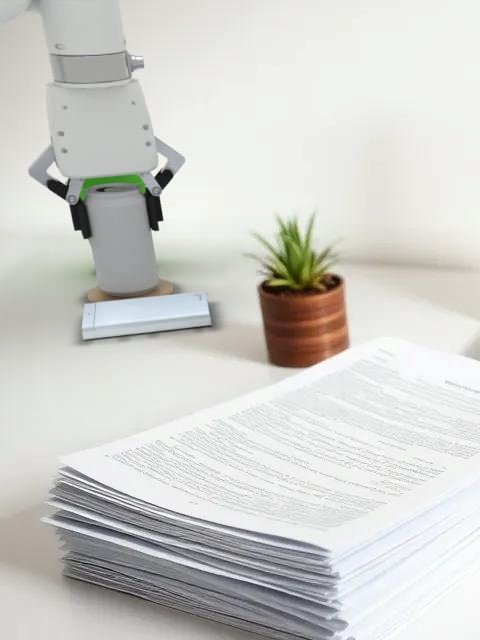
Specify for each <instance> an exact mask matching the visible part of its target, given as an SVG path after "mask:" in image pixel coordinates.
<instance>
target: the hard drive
mask: <svg viewBox="0 0 480 640" xmlns="http://www.w3.org/2000/svg"><path fill="white" fill-rule="evenodd" d="M83 306H84V307H83V312H82V320H81V335H82V340H84V341H85V340H92V339H93V340H94V339H100V338H101V339H102V338H109V337H119V336H127V335H136V334H138V335H139V334H143V333H144V334H146V333H154V332H162V331H163V332H164V331H171V330H180V329H189V328H199V327H208V326H212V319H211V312H210V306H209V300H208V293H207V291H206V290H204V291H194V292H185V293H175V294H174V293H173V294H170V295H163V296H154V297H144V298H134V299H125V300H115V301H105V302H96V303H92V302H90V303H89V302H88V303H84V305H83Z"/></svg>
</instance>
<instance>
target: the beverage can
mask: <svg viewBox="0 0 480 640" xmlns="http://www.w3.org/2000/svg"><path fill="white" fill-rule="evenodd" d="M140 190H141V187H140V186H139V185H137V184H133V183H108V184H100V185H95V186H92V187H89V188H87V189H86V190H85V194H86V197H85V199H84V201H83V202H84V205H85V209H86V214H87V220H88V225H89V230H90V235H91V237H90V242H91V245H90V248H91V253H92V259H93V263H94V269H95V274H96V281H97V286H99V288H100V289H101V290H102V291H104V292H106V293H107V294H108V295H111V296H117V297H129V296H137V295H142V294H146V293H149V292H151V291H152V290H153V289H154V287H155V286H156V285H157V284H158V283H159V279H160V276H159V270H158V269H159V268H158V264H157V258H156V251H155V245H154V240H153V233H152V232H153V231H152V229H151V226H150V220H149V213H148V207H147V201H146V197H145V195H144V194H143V193H142V192H141V191H140Z"/></svg>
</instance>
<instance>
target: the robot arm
mask: <svg viewBox="0 0 480 640" xmlns="http://www.w3.org/2000/svg"><path fill="white" fill-rule="evenodd" d="M38 14H39V15H40V17H41V21H42V22H41V23H42V26H43V32H44V38H45V44H46V48H47V54H48V59H49V64H50V68H51V69H50V70H51V74H52V79H53V81H51V82H47V83H46V87H45V88H46V89H45V99H46V100H45V101H46V113H47V121H48V122H47V123H48V129H49V137H50V144H49V145H48V146H47V147H46V148H45V149H44V150H43V151H42V152H41V153H40V154H39V156H38V157H37V158H36V159H35V160H34V161H33V162H32V163H31V164H30V166H28V167H27V172H28V173H27V174H28V175H29V176H30V177H31V178H32V179H33V180H35V181H37V182H38V183H39V184H40V185H42V186H44V187H45V188H47V189H48V190H49V191H50V192H52V193H53V194H55V195H56V196H57V197H59V198H61V199H62V200H64V201H65V202H66V203H67V204H68V206H69V211H70V216H71V222H72V226H73V230H74V231H75V232H77V231H79V232H81V235H82V238H83V240H88V239H89V238H90V237H91V235H90V230H89V225H88V220H87V214H86V209H85V205H84V202H83V200H82V199H81V197H80V193H81V190H82V186H83V183H84V180H85V179H88V178H100V177H111V176H122V175H132V174H138V175H139V176H140V178H141V179H142V181H143V182H144V183H145V185H146V187H145V190H146V191H145V193H144V195H145V197H146V201H147V207H148V213H149V220H150V226H151V231H153V232H160V226H159V222H164V215H163V207H162V202H161V195H162V193H163V191H164V189H165V188H166V187H168V185H169V183H170V182H171V181H173V178H174V176H175V175H176V174H177V173H178V172H179V170H180V169H181V168H182V167H183V165H184V164H185V162H186V158H185V156H183V155H182V153H180V152H179V151H177V150H176V149H174V148H173V147H172V146H170V145H168V144H167V143H166V142H164V141H163V140H162V139H160V138H159V137H157V136H156V135H155V132H154V129H153V128H154V127H153V124H152V119H151V114H150V112H149V109H148V106H147V101H146V99H145V94H144V92H143V88H142V86H141V84H140V81H139V79H138V78H135V77H133V73H135V72H134V71H138V69H139V70H140V69H145V62H144V57H143V55H135V54H131V53H130V52H129V51H128V50H127V43H126V38H125V36H126V35H125V31H124V30H125V29H124V25H123V19H122V12H121V6H120V1H119V0H0V28H1V27H4V26H8V25H10V24H12V23H13V22H15V21H17V20H18V19H19V18H21V17H23V16H30V15H38ZM159 154H161V156H163V157H164V158H166V160H167V161H166V163H165V165H164V166H163V167H161V168H160V170H158V171H157V173H156V174H155V176H154V175H153V174H152V171H154V170H156V169H158V166H159ZM54 163H55V166H56V168H57V169H58V171H59V173H60V175H61V176H63V177H65V178H67V179H66V181H67V183H66V185H65V183H64V182H62V181H61V180H59V179H57V178H56V177H54V176H53V175H51V174H50V173H49V172H47V171H48V169H49V168H50V167H51V166H52V165H53V164H54Z"/></svg>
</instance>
